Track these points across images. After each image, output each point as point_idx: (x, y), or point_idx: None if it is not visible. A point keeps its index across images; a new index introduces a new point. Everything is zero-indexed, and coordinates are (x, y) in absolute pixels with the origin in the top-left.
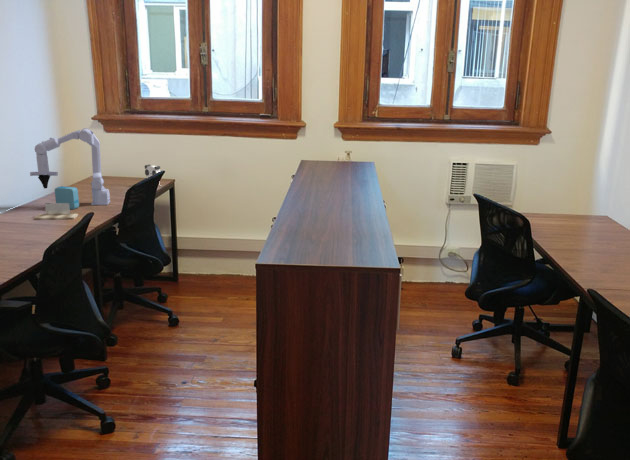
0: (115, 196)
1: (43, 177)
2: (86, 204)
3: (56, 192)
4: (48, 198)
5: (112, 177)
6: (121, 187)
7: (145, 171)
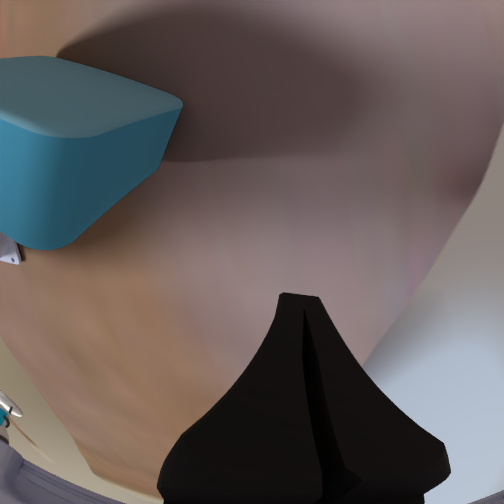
0: (13, 342)
1: (300, 473)
2: None
3: (89, 109)
4: None
5: None
6: (79, 436)
7: None
